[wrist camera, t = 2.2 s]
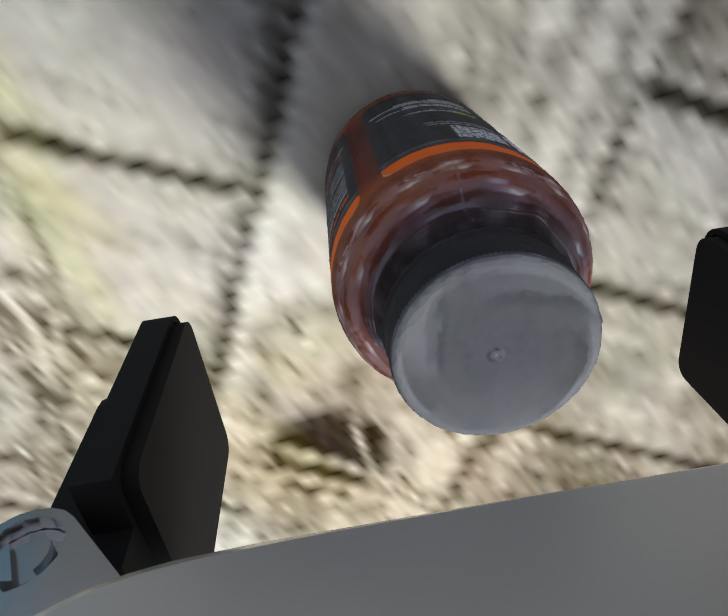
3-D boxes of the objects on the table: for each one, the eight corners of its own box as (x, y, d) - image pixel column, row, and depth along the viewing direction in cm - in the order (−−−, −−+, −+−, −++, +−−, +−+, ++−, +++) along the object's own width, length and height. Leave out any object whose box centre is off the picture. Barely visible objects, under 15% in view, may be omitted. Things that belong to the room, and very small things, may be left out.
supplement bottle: (357, 276, 22) (386, 509, 13) (298, 123, 20) (275, 269, 10) (511, 224, 22) (669, 427, 12) (473, 58, 19) (640, 145, 9)
